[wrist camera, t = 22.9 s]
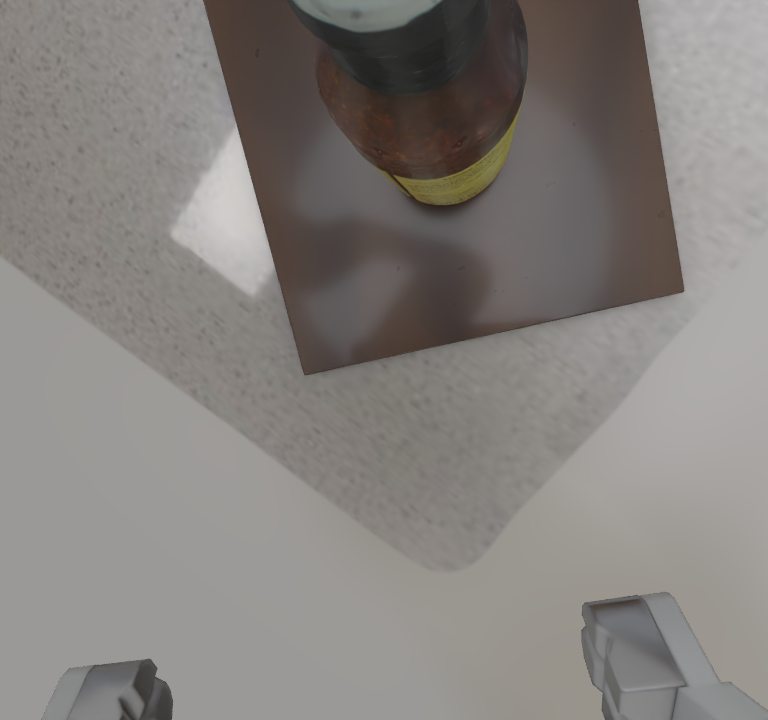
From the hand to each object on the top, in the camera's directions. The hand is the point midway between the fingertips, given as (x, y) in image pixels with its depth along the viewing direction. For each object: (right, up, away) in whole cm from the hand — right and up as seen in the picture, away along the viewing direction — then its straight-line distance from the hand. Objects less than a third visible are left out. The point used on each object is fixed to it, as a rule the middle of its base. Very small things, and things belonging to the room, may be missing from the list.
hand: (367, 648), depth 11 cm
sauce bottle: (+3, +16, +18) cm, 24 cm away
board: (+3, +16, +18) cm, 25 cm away
